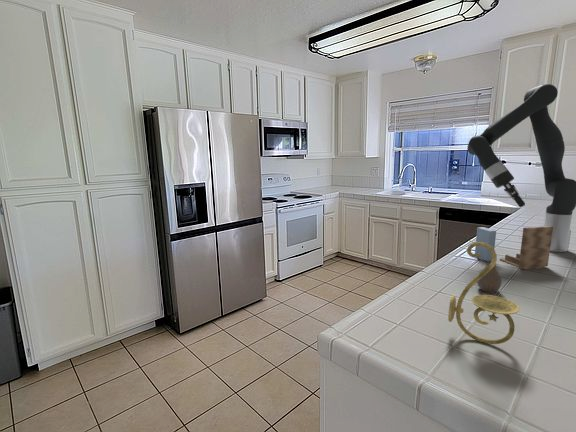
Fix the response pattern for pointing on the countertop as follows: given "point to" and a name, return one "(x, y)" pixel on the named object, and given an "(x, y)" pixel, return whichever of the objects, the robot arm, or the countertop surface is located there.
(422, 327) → the countertop surface
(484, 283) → the vase
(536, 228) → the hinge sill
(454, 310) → the wall sconce
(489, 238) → the light blue rectangular block
